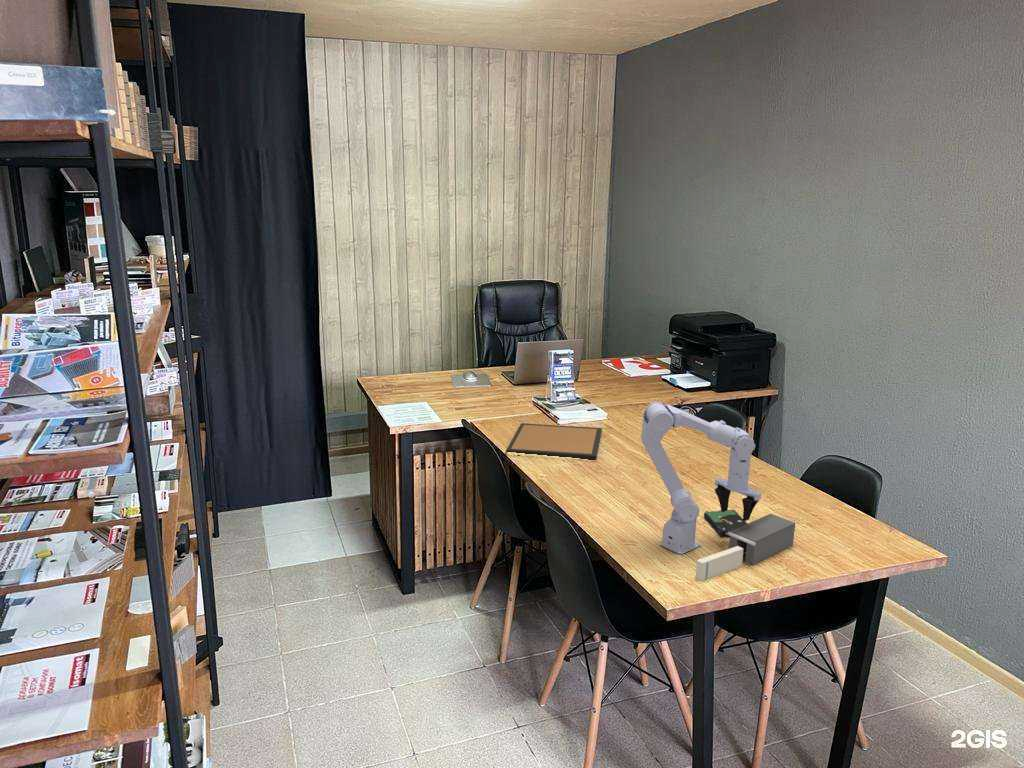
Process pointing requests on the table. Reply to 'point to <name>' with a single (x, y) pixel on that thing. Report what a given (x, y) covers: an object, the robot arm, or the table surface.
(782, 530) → the dispenser
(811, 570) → the table surface
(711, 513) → the disk drive
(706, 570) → the cream rectangular block
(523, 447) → the cork board
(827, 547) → the table surface
